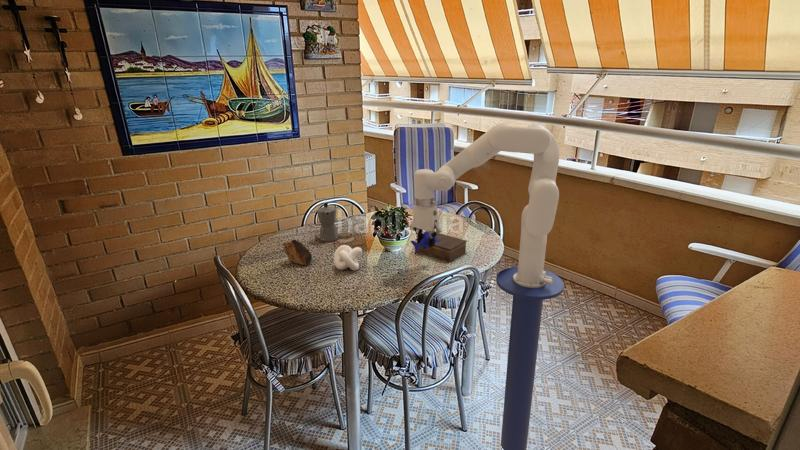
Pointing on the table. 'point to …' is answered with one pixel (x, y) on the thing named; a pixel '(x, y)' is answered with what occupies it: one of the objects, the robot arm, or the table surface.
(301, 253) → the decorative rock
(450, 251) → the walnut box
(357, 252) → the white knot ornament
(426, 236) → the fish toy
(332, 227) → the coffeepot
